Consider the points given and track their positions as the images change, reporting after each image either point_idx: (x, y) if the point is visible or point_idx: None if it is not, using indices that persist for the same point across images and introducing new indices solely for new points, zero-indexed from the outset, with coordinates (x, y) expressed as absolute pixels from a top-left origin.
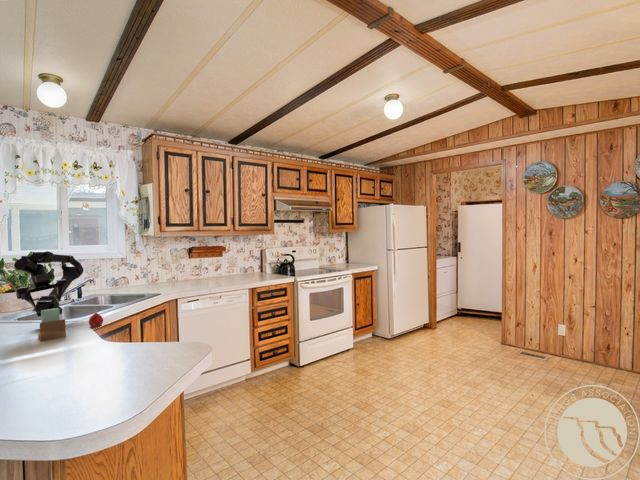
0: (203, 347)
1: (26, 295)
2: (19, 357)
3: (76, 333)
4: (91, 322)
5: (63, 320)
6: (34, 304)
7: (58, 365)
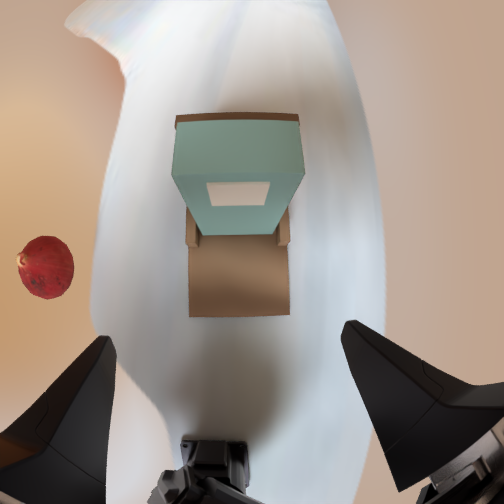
0: (80, 6)
1: (486, 385)
2: (333, 90)
3: (137, 248)
4: (64, 247)
5: (184, 117)
6: (363, 332)
7: (257, 10)
